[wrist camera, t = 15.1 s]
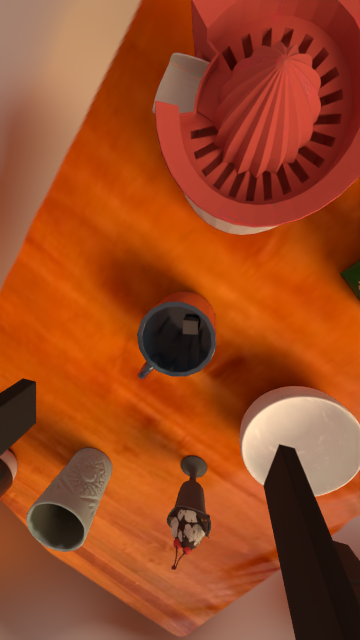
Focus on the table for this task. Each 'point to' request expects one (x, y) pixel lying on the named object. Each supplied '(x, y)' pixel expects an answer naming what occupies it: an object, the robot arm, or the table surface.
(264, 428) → the cereal bowl
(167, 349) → the mug
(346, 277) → the milk carton
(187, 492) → the sundae
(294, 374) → the table surface
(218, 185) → the citrus juicer
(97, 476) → the grey embossed cup
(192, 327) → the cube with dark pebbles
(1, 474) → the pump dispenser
